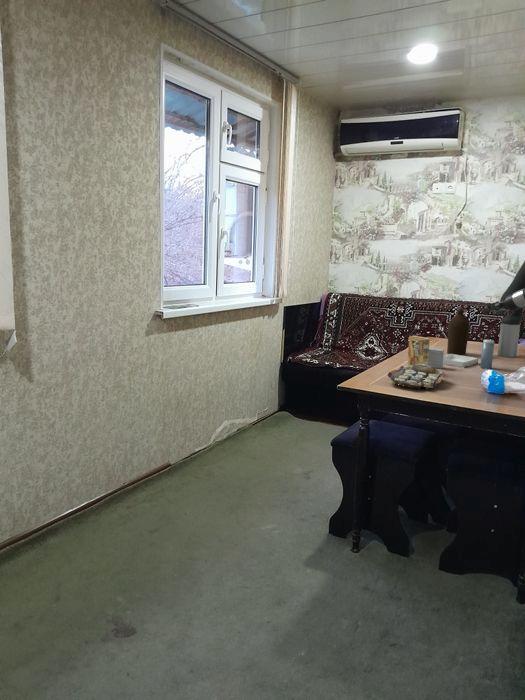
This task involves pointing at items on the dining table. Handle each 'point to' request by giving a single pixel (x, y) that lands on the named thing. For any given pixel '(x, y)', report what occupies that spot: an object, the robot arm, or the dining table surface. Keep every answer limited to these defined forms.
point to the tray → (459, 360)
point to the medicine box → (436, 357)
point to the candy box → (418, 350)
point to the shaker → (487, 354)
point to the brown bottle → (458, 333)
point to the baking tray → (416, 376)
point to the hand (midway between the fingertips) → (490, 312)
